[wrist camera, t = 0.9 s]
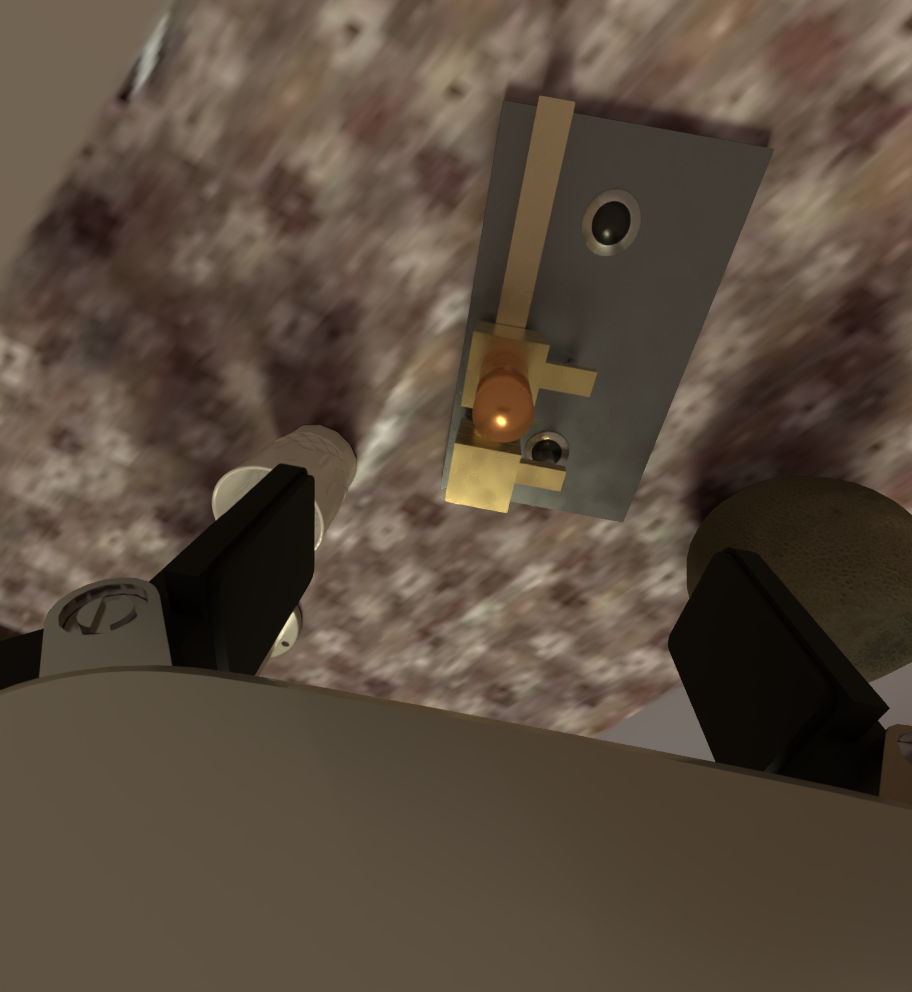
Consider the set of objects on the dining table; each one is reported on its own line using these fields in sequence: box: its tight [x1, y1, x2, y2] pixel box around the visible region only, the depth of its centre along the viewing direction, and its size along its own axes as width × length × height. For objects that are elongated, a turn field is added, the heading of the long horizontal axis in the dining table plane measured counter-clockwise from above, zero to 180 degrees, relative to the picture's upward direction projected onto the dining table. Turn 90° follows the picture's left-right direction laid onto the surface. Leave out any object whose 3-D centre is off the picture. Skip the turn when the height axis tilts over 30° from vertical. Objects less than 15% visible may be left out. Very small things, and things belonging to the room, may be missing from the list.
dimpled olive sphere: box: [687, 476, 912, 682], centre depth 32 cm, size 14×14×15 cm
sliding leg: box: [461, 321, 597, 443], centre depth 26 cm, size 4×8×14 cm, turn 81°
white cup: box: [212, 425, 356, 550], centre depth 35 cm, size 8×8×10 cm
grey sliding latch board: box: [441, 95, 774, 522], centre depth 30 cm, size 26×16×8 cm, turn 171°
